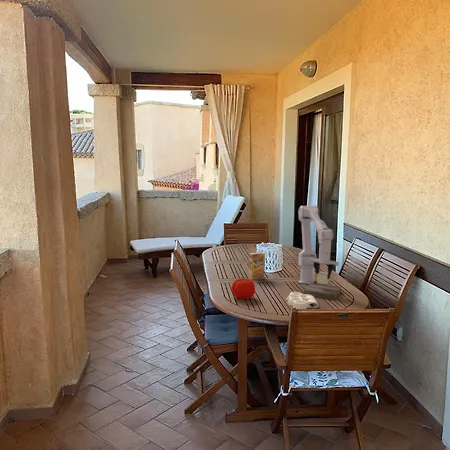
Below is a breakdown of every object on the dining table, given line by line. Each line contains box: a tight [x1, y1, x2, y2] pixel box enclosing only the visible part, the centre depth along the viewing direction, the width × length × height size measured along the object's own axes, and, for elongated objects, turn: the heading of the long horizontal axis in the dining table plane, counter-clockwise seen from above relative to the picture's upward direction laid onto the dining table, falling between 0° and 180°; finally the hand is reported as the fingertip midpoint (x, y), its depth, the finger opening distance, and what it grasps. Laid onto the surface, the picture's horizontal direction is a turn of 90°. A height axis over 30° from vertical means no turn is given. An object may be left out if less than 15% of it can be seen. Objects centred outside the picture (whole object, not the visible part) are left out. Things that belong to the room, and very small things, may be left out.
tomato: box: [231, 276, 256, 300], centre depth 204 cm, size 12×12×10 cm
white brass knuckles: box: [285, 291, 319, 310], centre depth 198 cm, size 3×18×15 cm
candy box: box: [247, 251, 266, 281], centre depth 240 cm, size 9×4×15 cm, turn 115°
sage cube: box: [316, 271, 330, 285], centre depth 214 cm, size 5×5×5 cm
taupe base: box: [302, 282, 342, 301], centre depth 215 cm, size 16×16×2 cm
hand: (323, 277), depth 214 cm, fingers closed on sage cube, 5 cm apart
